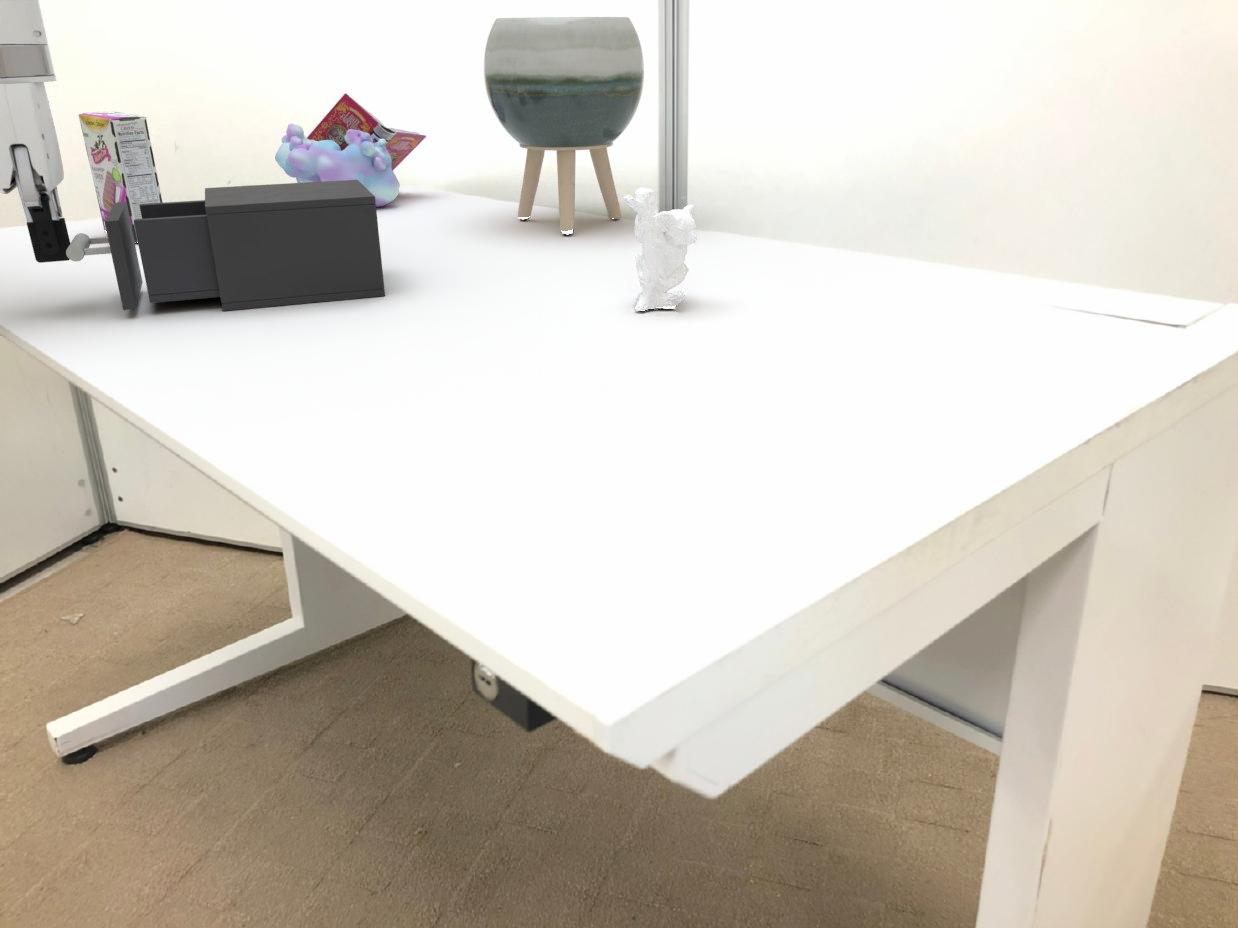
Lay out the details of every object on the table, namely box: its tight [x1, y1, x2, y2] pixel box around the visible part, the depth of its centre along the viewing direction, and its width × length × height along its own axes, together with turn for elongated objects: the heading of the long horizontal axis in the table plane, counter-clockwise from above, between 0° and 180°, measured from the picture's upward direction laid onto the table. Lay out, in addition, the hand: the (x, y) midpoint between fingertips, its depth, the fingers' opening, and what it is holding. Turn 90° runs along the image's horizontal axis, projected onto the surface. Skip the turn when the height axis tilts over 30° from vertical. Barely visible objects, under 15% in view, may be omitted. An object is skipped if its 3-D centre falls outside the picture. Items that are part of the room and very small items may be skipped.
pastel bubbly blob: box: [274, 92, 427, 208], centre depth 163 cm, size 20×22×18 cm
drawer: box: [66, 199, 220, 311], centre depth 106 cm, size 20×12×9 cm, turn 111°
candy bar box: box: [78, 110, 163, 242], centre depth 137 cm, size 11×5×16 cm, turn 46°
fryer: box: [204, 180, 386, 312], centre depth 109 cm, size 17×14×11 cm
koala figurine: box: [622, 186, 698, 312], centre depth 101 cm, size 8×7×12 cm
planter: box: [483, 16, 645, 231], centre depth 141 cm, size 22×22×28 cm
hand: (55, 259), depth 102 cm, fingers closed
